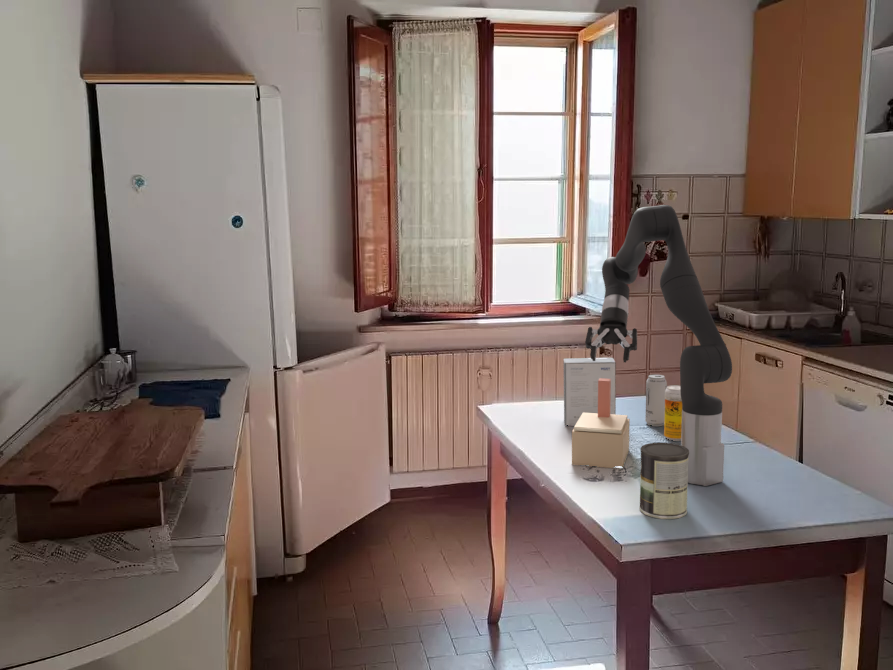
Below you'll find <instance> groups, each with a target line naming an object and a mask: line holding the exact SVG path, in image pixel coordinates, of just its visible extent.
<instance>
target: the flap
mask: <svg viewBox="0 0 893 670" xmlns="http://www.w3.org/2000/svg"><path fill="white" fill-rule="evenodd" d="M610 406H611V379H606V378H600V379H599V380H598V413H584V412H583V413H582V415H581V417H580V418H579V420H578V421H577V423H576V425H575V426H573V429H574V431H587V432H602V433H616V434H621V433H622V431H623V428H624V426H625V423H626V421H627V419H628V415H627V414H616V415H615V414H610Z"/></svg>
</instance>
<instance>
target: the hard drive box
mask: <svg viewBox="0 0 893 670" xmlns="http://www.w3.org/2000/svg"><path fill="white" fill-rule="evenodd" d="M616 373H617V362H616V361H615V359H614V357H596V360H595V361H593V360H592V359H591V357H580V358H578V357H577V358H575V357H573V358H571V357H570V358H563V422H564V426H565V425H568V426H567V427H574V426H575V425H576V423H577V421H578V420H579V418H580V417H581V415H582V413H583V412H584V413H598V380H599V379H600V378H606V379H611V406H610V414H615V415H617V413H616V412H617V410H616V408H617V407H616V398H617V397H616V395H617V394H616V392H617V389H616V388H617V386H616V384H617V379H616V378H617V376H616V375H617V374H616Z"/></svg>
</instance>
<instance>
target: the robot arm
mask: <svg viewBox="0 0 893 670" xmlns="http://www.w3.org/2000/svg"><path fill="white" fill-rule="evenodd" d="M657 241H664V242H665V243H666V246H667V252H668V253H667V258H666V262H665V264H664V267H663V269H662V272H661V275H660V279H659V280H660V281H659V286H660V287H659V288H660V290H661V293H662V295H663V299H664V302H665V304H666V306H667V308H668V309H669V311H670V313H672V314H673V316H675V317H676V318H677V319H678V320H679V321H680V322H681V323H682V324H683V325H685V326H686V327H687V328H688V329H689V330H690V331H691V332H692V333H693V334H694V336H695V338H696V339H697V342H699V344H697V345H689V346H686V347H685V348H684V349H683V350H682V352H681V354H680V357H679V358H680V361H679V379H680V382H679V384H680V385H679V386H680V392H681V400H682V432H681V441H680V445H681V446H684V447H686V448H687V449H688V450H689V456H688V484H692V485H699V486H702V487H703V486H704V487H707V486H708V487H709V486H712V485H716V484H719V483H723V482H724V465H725V464H724V462H725V444H724V443H722V425H723V424H722V422H723V402H722V400H721V399H720V398H718V397H716V396H713V395H710V394H707V393H706V392H705V388H704V387H705V385H704V384H713V383H715V384H716V383H723V382H726V381H728V380H729V379H730V378H731V376H732V373H733V362H732V358H731V355H730V352H729V349H728V347H727V344H726V343H725V341H724V338H723V337H722V335H721V333H720V331H719V328H718V327H717V325H716V324H715V321H714V319H713V316H712V314H711V311H710V309H709V307H708V304H707V301H706V298H705V296H704V293H703V289H702V287H701V284H700V281H699V278H698V276H697V274H696V272H695V269H694V267H693V264H692V261H691V259H690V256H689V253H688V250H687V248H686V243H685V239H684V235H683V232H682V229H681V225H680V221H679V218H678V215H677V213H676V210H675V209H674V207H673V206H672V205H669V204H659V205H652V206H643V207H639V208H637V209H636V210H635V211H634V213H633V214H632V217H631V220H630V222H629V226H628V228H627V232H626V235H625V239H624V242H623V244H622V245H621V247H620V249H619V250H618V251H617V253H616V255H615V256H610V257H609V256H608V257H607V258H606V260H604V261H603V264H602V267H601V270H602V271H601V275H602V278H603V279H602V280H603V282H604V283H603V284H604V290H605V291H604V292H605V293H604V299H603V303H602V309H601V316H600V320H599V321H600V323H599V327H598V328H597V329H596V328H595V329H594V328H593V327H592V326H588V329H587V332H586V337H585V341H584V343H585V349H587V350H588V349H590V353H589V355H590V357H589V358H591V359H592V360H593V361H595V360H596V358H597V351H598V349H599V348H602V346H604V345H611V344H612V345H620V346H621V347H622V348H623V356H622V360H623V363H627V361H628V362H629V360H630V353H631V351H637V350H638V330H637V328H634V327H633V328H632V330H631V329H630V330H629V329H627V327H628V317H629V309H630V308H629V300H630V292H631V291H630V286H629V285H631V284H633V283H634V282H635V281H637V280H636V279H637V277H638V271H639V265H640V264H641V263H642V262H643V260H644V259H645V256H646V251H647V249H646V244H645V243H648V242H649V243H650V242H657ZM644 242H645V243H644ZM596 335H598V336H596ZM595 336H596V338H595ZM628 336H629V338H631V343H629V342H628V341H627V339H626V338H627V337H628ZM593 338H595V339H594V340H593ZM592 340H593V342H592Z"/></svg>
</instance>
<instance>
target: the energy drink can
mask: <svg viewBox="0 0 893 670" xmlns="http://www.w3.org/2000/svg"><path fill="white" fill-rule="evenodd" d="M667 386H668V382H667V379H666V377H665V375H663V374H649V375H648V378H647V379H646V382H645V417H644V419H645V421H644V422H646V424H647V425H648V426H650V425H652V426H651V427H664V417H665V390H666V388H667Z"/></svg>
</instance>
